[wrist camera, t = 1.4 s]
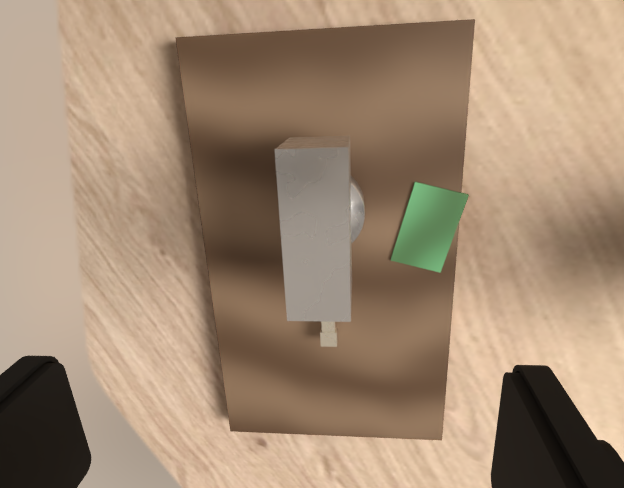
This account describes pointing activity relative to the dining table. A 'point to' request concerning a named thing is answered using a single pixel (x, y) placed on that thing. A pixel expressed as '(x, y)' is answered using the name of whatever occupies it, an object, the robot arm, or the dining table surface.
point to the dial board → (370, 242)
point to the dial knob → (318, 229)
